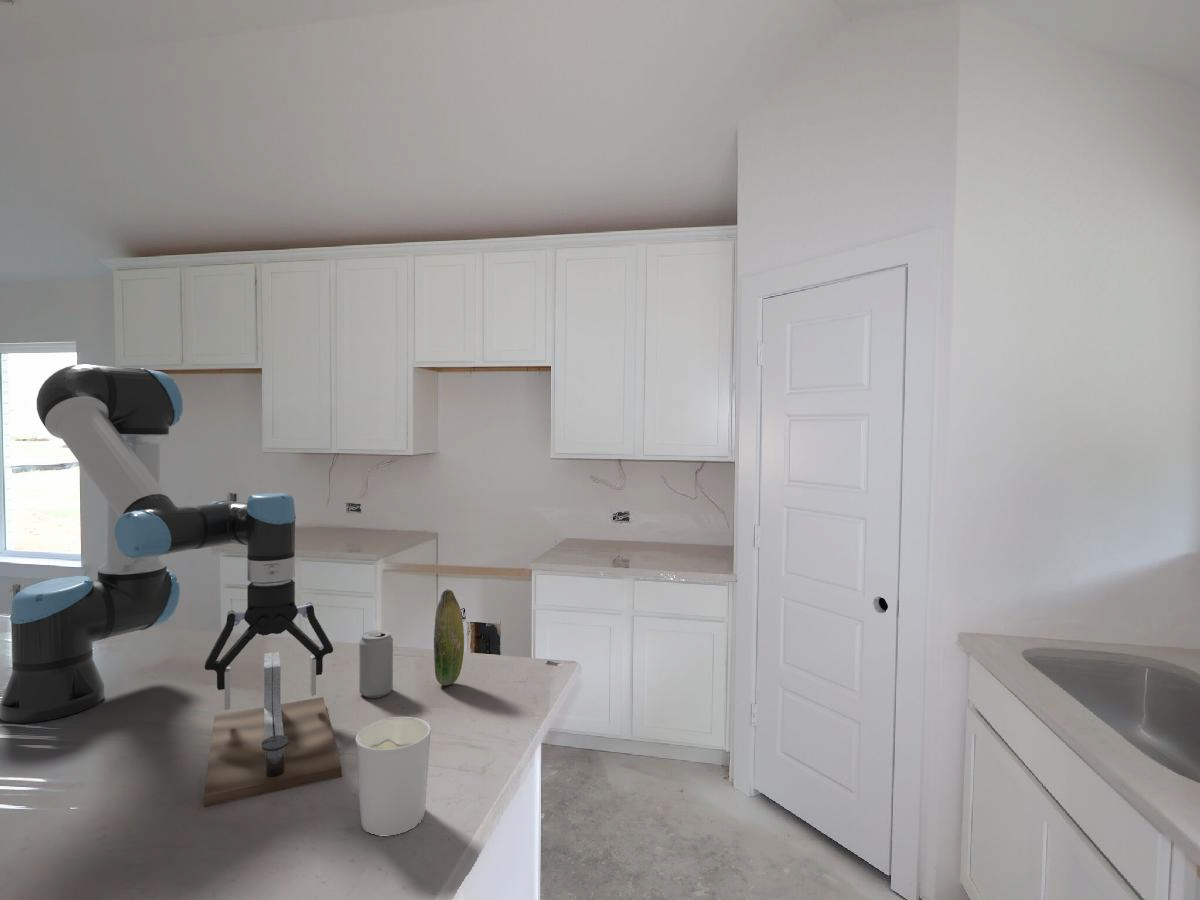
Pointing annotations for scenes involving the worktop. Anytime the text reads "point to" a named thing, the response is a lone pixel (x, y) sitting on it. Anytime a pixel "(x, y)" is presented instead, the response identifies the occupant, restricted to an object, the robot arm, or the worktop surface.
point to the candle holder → (392, 774)
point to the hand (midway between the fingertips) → (271, 699)
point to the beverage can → (375, 663)
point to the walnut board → (243, 759)
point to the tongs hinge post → (275, 754)
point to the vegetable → (448, 639)
